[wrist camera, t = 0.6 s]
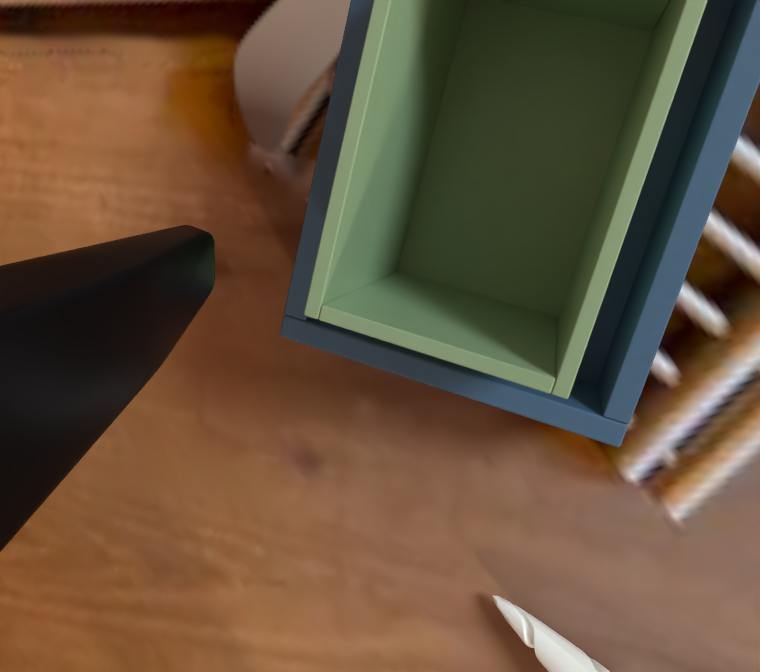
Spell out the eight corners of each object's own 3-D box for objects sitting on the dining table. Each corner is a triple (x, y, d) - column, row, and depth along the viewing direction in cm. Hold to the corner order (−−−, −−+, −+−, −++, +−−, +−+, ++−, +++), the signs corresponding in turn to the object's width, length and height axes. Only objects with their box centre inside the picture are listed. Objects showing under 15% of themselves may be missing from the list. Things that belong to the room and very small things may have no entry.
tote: (610, 408, 23) (620, 448, 20) (319, 316, 26) (278, 336, 22) (776, -39, 20) (827, -96, 16) (416, -102, 22) (385, -165, 18)
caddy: (565, 328, 23) (568, 399, 15) (388, 276, 24) (302, 315, 16) (668, 25, 20) (738, -87, 12) (463, -16, 21) (404, -142, 13)
